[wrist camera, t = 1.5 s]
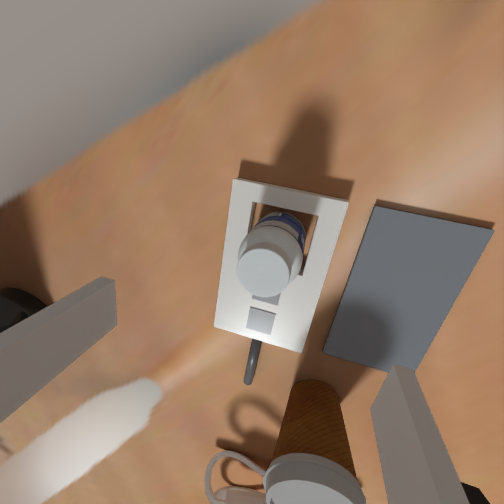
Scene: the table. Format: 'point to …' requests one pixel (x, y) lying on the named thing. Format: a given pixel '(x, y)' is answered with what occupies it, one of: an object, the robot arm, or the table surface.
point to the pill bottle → (271, 254)
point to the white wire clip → (236, 498)
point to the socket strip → (298, 291)
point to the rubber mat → (402, 287)
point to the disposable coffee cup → (312, 452)
